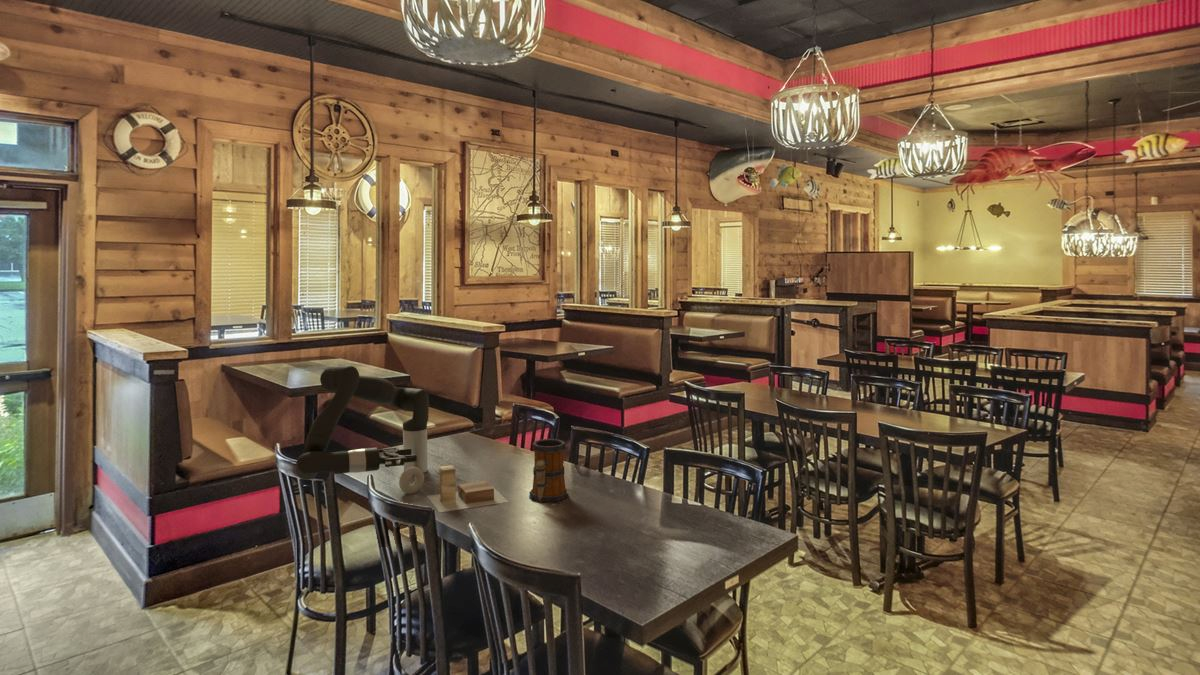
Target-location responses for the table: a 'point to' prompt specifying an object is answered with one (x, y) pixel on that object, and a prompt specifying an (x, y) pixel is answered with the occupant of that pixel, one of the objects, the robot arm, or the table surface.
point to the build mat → (461, 504)
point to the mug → (548, 472)
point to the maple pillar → (447, 484)
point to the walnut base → (475, 492)
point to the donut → (406, 477)
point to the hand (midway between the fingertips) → (413, 454)
